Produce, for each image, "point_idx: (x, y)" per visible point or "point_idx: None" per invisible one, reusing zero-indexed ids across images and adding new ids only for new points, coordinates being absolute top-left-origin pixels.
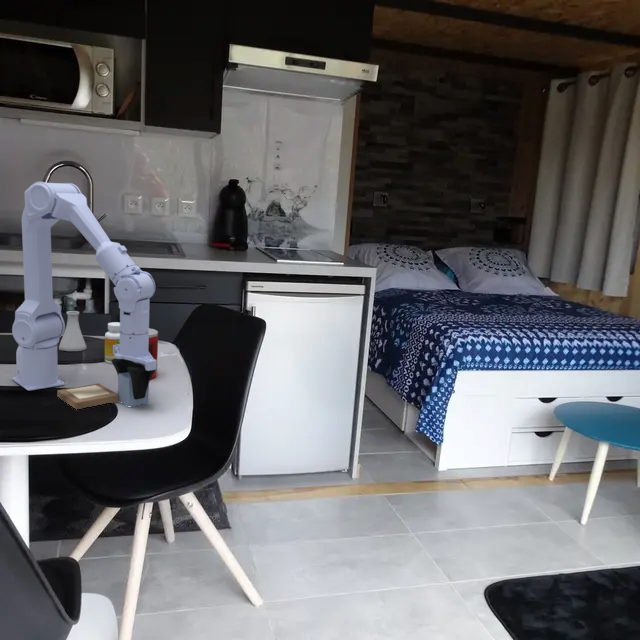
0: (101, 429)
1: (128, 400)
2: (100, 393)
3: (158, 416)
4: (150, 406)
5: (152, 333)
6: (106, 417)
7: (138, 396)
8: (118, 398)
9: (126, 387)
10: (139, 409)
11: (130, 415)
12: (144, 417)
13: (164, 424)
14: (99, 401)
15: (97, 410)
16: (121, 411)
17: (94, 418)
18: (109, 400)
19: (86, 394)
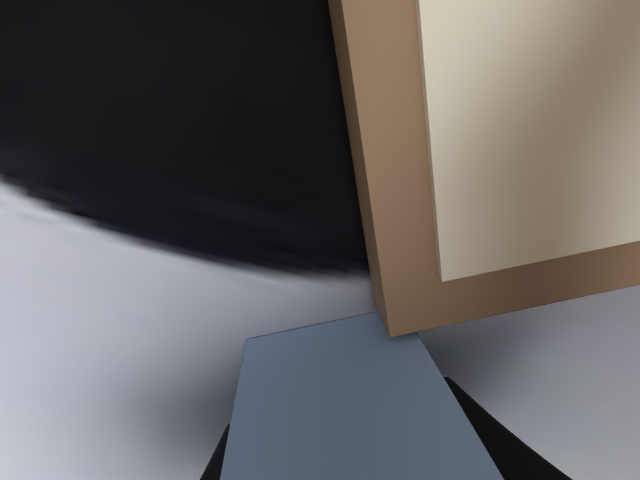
0: None
1: (242, 373)
2: (479, 205)
3: (19, 457)
4: None
5: None
6: (62, 137)
7: None
8: (383, 319)
9: (275, 457)
10: (185, 390)
11: (74, 313)
12: (13, 384)
13: None
14: (358, 160)
15: (256, 112)
16: (178, 278)
17: (54, 27)
18: (371, 248)
19: (516, 61)
